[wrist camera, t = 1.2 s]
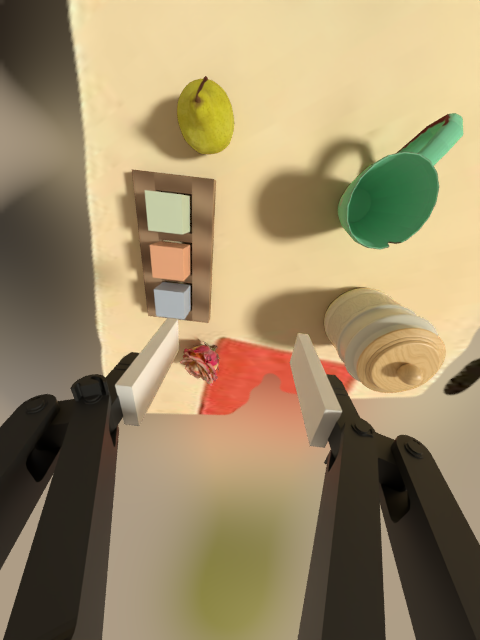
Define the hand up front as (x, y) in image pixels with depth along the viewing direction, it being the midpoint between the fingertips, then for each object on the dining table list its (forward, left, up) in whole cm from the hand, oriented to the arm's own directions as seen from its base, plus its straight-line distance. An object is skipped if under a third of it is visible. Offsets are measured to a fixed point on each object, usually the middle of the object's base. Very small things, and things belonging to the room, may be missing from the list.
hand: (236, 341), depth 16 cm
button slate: (+7, -12, -23) cm, 27 cm away
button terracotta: (0, -12, -23) cm, 26 cm away
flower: (+21, -7, -26) cm, 34 cm away
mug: (-13, +17, -26) cm, 33 cm away
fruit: (-18, -7, -26) cm, 32 cm away
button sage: (-7, -12, -23) cm, 27 cm away
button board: (0, -12, -25) cm, 28 cm away
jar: (+8, +23, -26) cm, 35 cm away
